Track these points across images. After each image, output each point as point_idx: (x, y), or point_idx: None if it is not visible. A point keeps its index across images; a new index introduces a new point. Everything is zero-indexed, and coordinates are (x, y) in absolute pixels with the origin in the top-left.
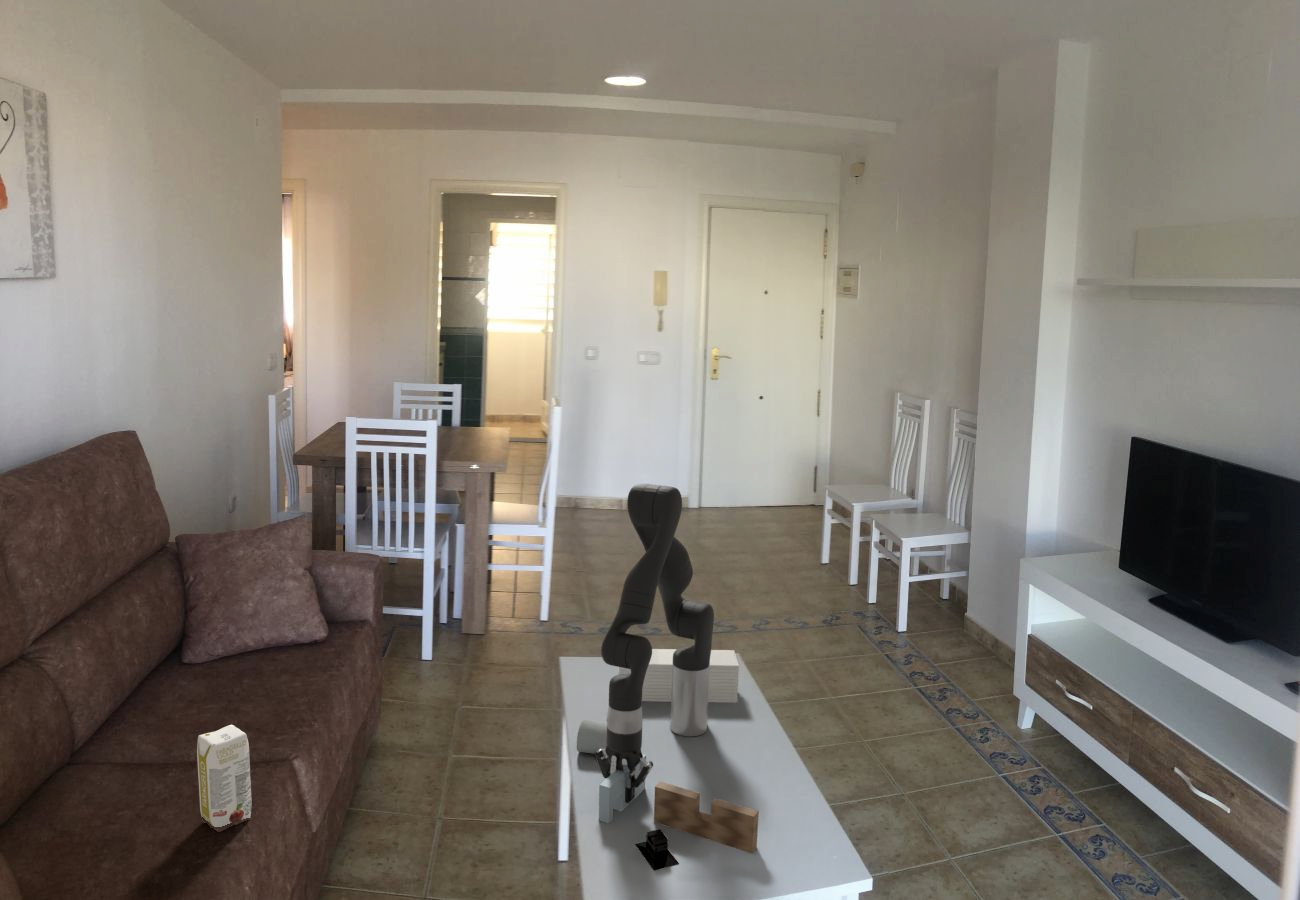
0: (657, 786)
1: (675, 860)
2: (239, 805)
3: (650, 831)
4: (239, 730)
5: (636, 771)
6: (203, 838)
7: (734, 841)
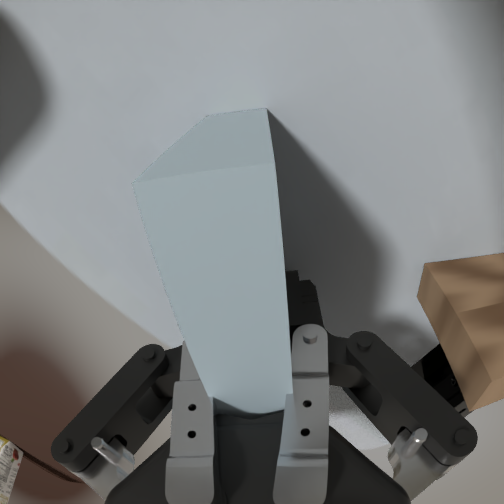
0: (479, 406)
1: None
2: (12, 461)
3: None
4: None
5: (328, 374)
6: (26, 455)
7: None
